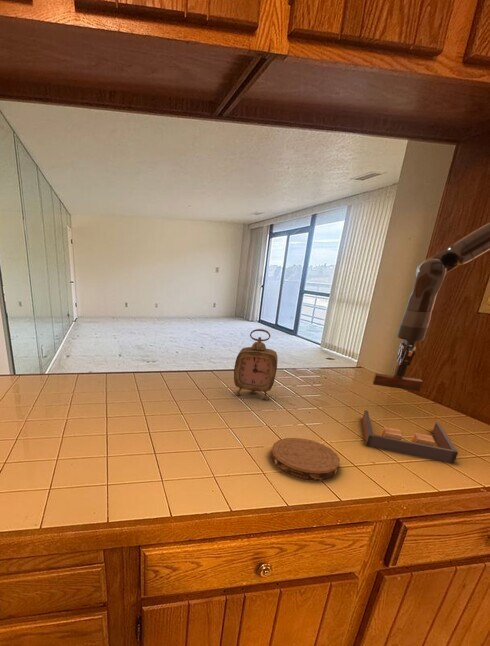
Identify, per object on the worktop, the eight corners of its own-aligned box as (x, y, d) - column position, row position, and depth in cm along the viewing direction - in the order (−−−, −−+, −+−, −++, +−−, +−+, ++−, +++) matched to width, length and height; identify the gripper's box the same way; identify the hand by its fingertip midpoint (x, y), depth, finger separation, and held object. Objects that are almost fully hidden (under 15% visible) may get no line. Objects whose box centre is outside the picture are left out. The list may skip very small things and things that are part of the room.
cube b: (410, 445, 98) (414, 432, 96) (427, 448, 96) (431, 435, 95) (412, 451, 94) (417, 438, 93) (430, 455, 93) (435, 442, 91)
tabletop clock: (231, 396, 129) (238, 329, 119) (235, 388, 137) (242, 325, 127) (271, 402, 124) (281, 333, 115) (273, 394, 132) (283, 328, 122)
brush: (373, 384, 123) (380, 358, 119) (372, 382, 126) (379, 356, 122) (419, 391, 118) (428, 364, 114) (418, 388, 120) (426, 362, 117)
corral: (361, 419, 112) (364, 410, 111) (435, 433, 105) (439, 422, 103) (365, 446, 96) (369, 435, 95) (453, 464, 89) (458, 452, 87)
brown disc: (307, 443, 97) (309, 434, 96) (352, 475, 83) (355, 464, 82) (258, 452, 92) (260, 442, 91) (297, 487, 78) (299, 476, 77)
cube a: (380, 439, 101) (384, 426, 99) (396, 442, 99) (400, 429, 97) (381, 445, 97) (385, 432, 96) (398, 448, 96) (402, 435, 94)
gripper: (433, 329, 106) (415, 382, 113) (423, 322, 118) (408, 370, 124) (404, 326, 109) (389, 378, 116) (398, 320, 120) (384, 367, 127)
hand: (399, 374), depth 120 cm, fingers closed on brush, 2 cm apart
